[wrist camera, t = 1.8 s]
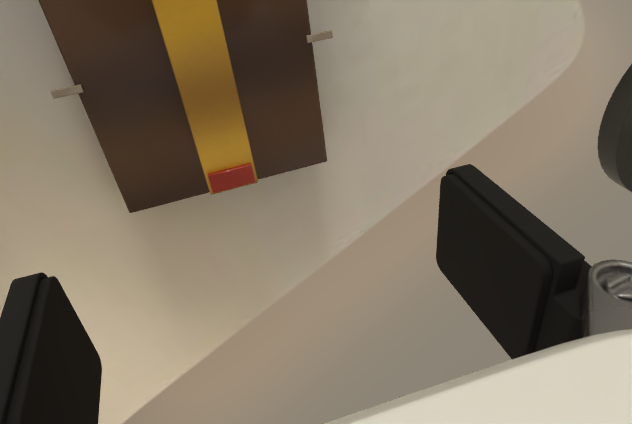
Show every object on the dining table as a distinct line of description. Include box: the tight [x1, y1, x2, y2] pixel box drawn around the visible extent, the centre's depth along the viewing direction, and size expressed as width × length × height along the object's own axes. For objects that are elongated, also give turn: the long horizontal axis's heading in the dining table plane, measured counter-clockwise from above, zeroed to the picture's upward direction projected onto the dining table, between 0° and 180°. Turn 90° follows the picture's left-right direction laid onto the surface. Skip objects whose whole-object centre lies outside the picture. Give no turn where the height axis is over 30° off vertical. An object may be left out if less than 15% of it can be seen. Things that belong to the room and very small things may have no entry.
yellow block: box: [152, 0, 258, 194], centre depth 23 cm, size 10×2×5 cm, turn 8°
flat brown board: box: [39, 0, 333, 213], centre depth 26 cm, size 15×14×3 cm
